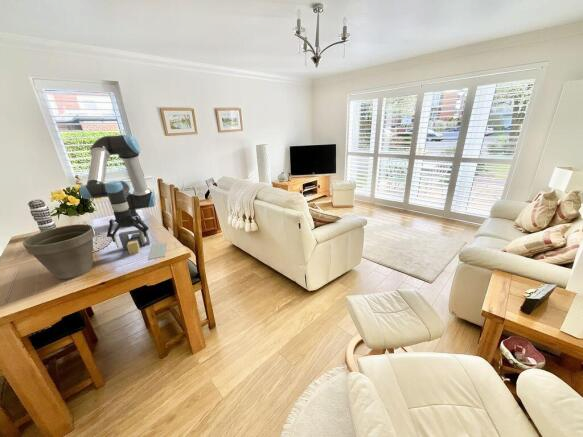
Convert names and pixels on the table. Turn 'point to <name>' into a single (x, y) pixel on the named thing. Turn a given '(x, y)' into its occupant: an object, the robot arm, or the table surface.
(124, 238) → the frame
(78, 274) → the plant pot
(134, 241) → the two-tone upright block
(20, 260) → the table surface
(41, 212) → the decorative candle
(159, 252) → the mat
